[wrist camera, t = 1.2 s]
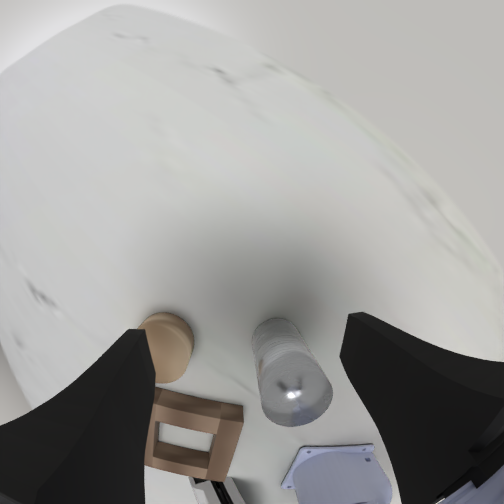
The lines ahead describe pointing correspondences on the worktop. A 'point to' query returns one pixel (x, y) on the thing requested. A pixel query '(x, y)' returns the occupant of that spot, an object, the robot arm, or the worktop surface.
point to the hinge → (216, 492)
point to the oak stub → (168, 345)
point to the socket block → (200, 419)
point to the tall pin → (288, 375)
